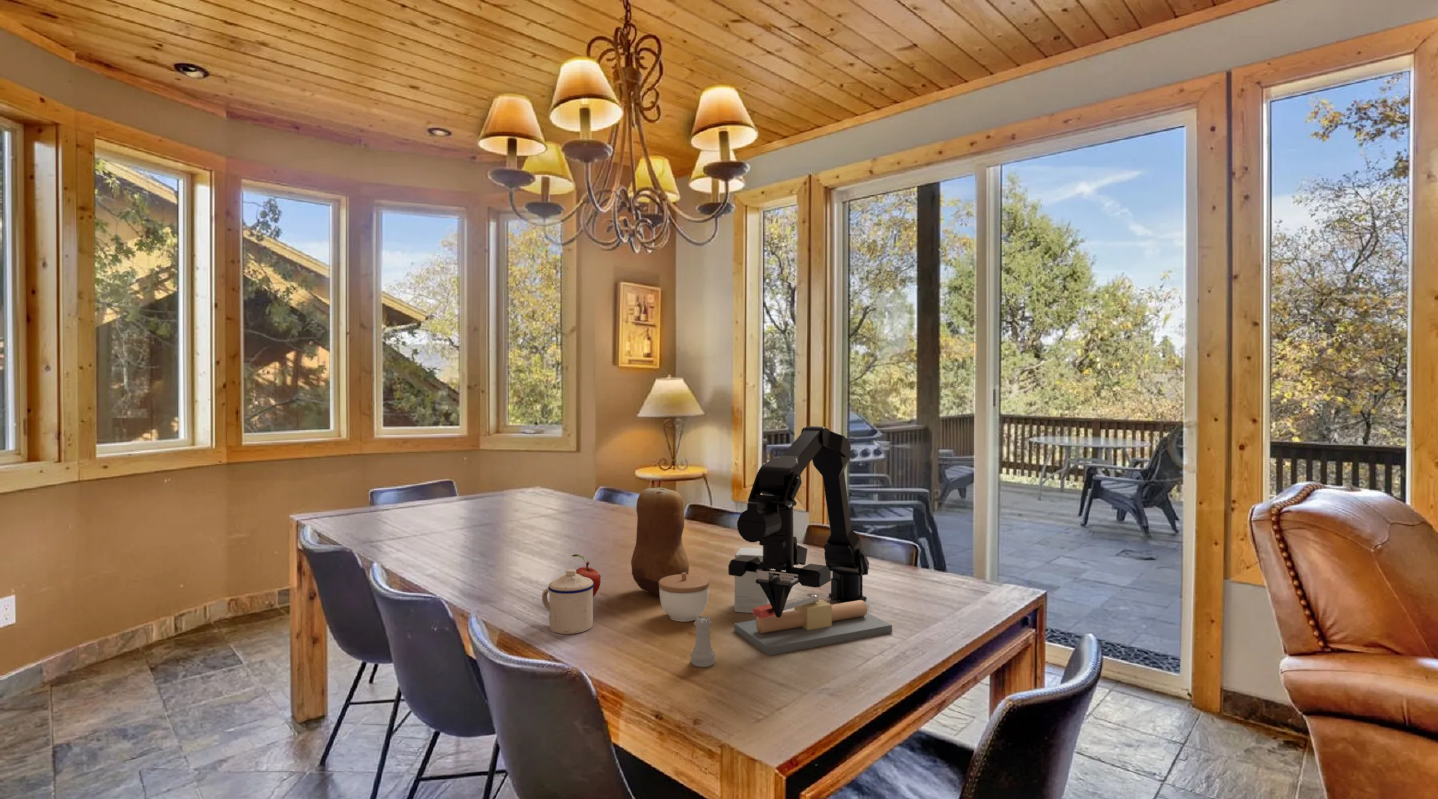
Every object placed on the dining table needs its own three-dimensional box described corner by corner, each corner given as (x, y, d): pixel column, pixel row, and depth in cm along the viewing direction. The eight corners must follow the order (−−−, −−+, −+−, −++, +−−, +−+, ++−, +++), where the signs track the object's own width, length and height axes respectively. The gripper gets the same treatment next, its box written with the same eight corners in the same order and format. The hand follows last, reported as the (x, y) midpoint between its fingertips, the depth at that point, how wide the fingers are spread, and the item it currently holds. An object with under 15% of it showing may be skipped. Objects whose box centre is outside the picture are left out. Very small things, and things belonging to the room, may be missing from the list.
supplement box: (767, 614, 145) (767, 556, 145) (733, 612, 147) (733, 554, 146) (771, 604, 152) (771, 548, 152) (739, 602, 154) (739, 546, 154)
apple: (604, 594, 160) (604, 551, 160) (596, 603, 153) (596, 558, 153) (573, 593, 161) (573, 551, 161) (563, 601, 154) (563, 558, 154)
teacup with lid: (603, 623, 140) (602, 567, 139) (574, 638, 131) (574, 578, 131) (557, 615, 145) (557, 560, 145) (527, 628, 137) (527, 571, 137)
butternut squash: (695, 586, 166) (694, 484, 165) (680, 603, 152) (680, 493, 152) (640, 583, 168) (640, 483, 168) (622, 600, 155) (622, 491, 155)
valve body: (850, 611, 147) (850, 583, 147) (892, 632, 134) (892, 601, 134) (734, 630, 135) (734, 599, 135) (768, 655, 123) (768, 621, 123)
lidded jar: (683, 629, 136) (683, 583, 136) (648, 617, 143) (648, 573, 143) (719, 616, 144) (719, 572, 144) (684, 605, 151) (684, 563, 151)
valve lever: (812, 598, 136) (812, 591, 136) (821, 601, 135) (821, 594, 135) (752, 615, 126) (752, 608, 126) (761, 618, 124) (761, 611, 124)
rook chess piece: (689, 658, 121) (689, 614, 121) (714, 657, 122) (714, 613, 122) (690, 668, 117) (690, 622, 117) (716, 667, 117) (716, 621, 117)
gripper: (841, 530, 128) (842, 613, 128) (754, 521, 138) (755, 598, 137) (817, 540, 118) (818, 630, 118) (726, 531, 128) (727, 613, 128)
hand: (778, 616), depth 126 cm, fingers closed
